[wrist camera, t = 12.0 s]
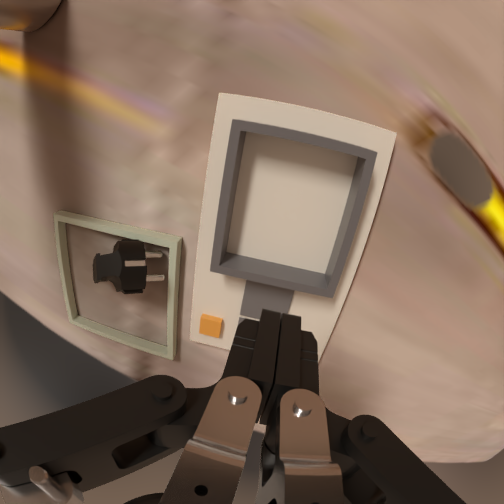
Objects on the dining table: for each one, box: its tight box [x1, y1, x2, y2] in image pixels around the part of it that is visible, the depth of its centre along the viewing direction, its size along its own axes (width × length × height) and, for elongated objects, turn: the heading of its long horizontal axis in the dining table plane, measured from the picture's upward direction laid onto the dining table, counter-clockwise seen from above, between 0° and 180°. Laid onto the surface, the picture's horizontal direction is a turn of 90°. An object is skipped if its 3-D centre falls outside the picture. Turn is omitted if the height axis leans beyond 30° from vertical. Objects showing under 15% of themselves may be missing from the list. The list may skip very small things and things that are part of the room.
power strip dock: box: [190, 93, 397, 362], centre depth 29 cm, size 28×16×4 cm, turn 170°
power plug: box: [93, 239, 165, 294], centre depth 32 cm, size 6×8×12 cm
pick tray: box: [53, 210, 182, 360], centre depth 35 cm, size 18×18×2 cm
